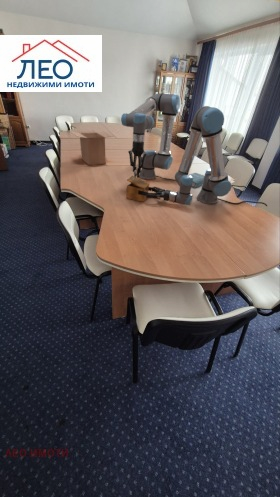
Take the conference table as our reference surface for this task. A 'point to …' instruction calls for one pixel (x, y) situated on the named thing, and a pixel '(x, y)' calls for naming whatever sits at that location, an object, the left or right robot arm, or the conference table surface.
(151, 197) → the right robot arm
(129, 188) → the chest
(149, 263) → the conference table surface
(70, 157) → the conference table surface
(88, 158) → the box
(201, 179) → the book
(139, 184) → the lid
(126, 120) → the left robot arm
